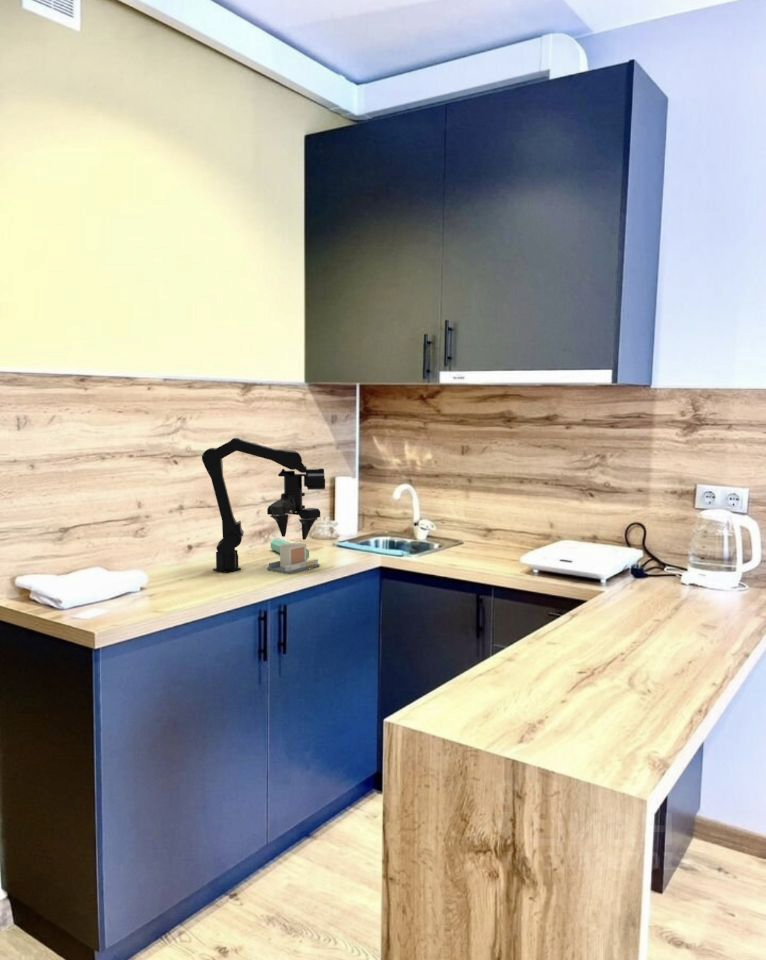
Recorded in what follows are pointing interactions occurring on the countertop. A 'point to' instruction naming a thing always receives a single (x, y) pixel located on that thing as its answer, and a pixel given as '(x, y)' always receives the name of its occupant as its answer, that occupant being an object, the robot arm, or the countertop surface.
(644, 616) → the countertop surface
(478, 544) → the countertop surface
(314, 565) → the shallow grey tray
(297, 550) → the product box
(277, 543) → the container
